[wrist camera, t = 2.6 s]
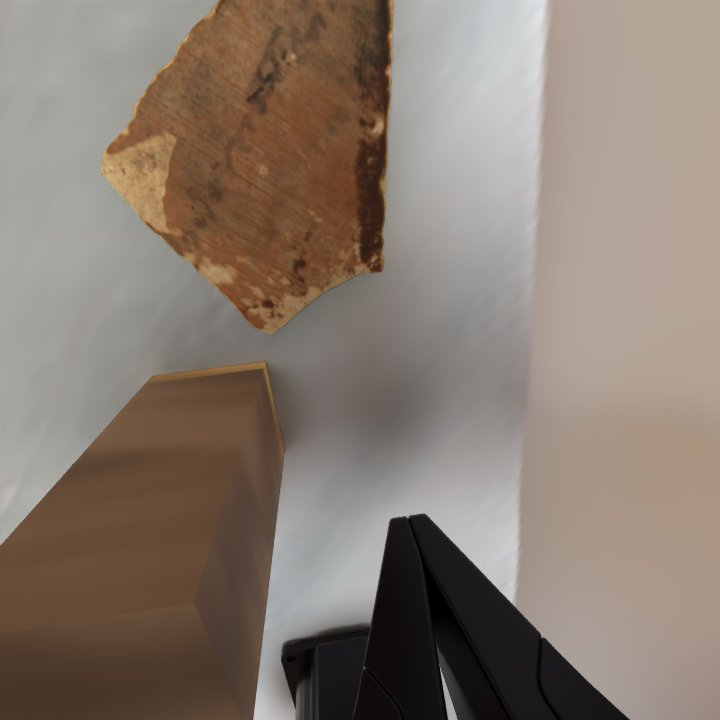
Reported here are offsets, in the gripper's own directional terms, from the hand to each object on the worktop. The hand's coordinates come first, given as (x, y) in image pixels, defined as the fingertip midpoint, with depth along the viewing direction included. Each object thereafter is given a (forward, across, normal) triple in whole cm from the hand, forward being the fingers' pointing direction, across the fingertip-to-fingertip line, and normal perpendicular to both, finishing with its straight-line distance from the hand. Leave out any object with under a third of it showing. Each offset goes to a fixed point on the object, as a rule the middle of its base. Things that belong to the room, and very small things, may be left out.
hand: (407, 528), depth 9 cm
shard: (+7, +3, -9) cm, 12 cm away
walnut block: (+6, +6, 0) cm, 9 cm away
